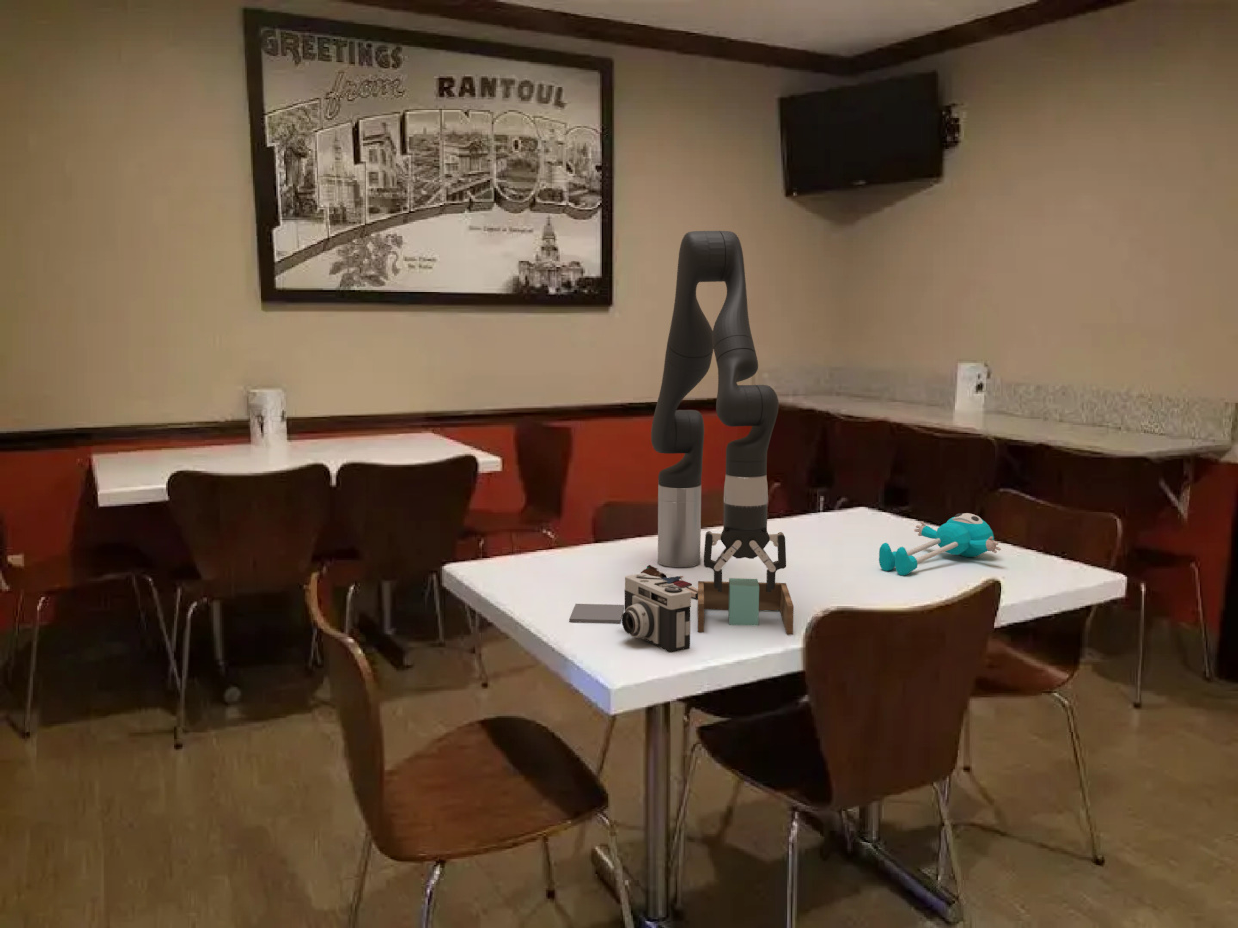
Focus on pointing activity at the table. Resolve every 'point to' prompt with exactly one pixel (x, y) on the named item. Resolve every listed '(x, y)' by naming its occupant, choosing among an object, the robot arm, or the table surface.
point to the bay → (767, 601)
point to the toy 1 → (672, 580)
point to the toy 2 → (942, 543)
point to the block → (743, 601)
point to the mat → (597, 613)
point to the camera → (657, 612)
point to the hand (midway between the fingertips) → (744, 591)
